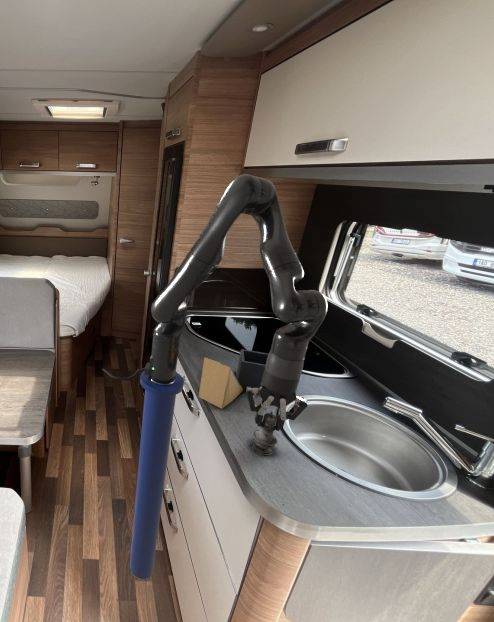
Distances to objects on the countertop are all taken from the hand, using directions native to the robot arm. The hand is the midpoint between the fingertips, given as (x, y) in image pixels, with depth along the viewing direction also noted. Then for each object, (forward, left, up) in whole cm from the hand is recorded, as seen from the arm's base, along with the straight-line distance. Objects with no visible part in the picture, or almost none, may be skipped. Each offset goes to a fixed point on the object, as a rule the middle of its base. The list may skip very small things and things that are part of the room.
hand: (267, 426), depth 87 cm
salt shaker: (0, 0, -7) cm, 7 cm away
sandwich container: (-10, +22, -7) cm, 25 cm away
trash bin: (-1, +33, -7) cm, 34 cm away
